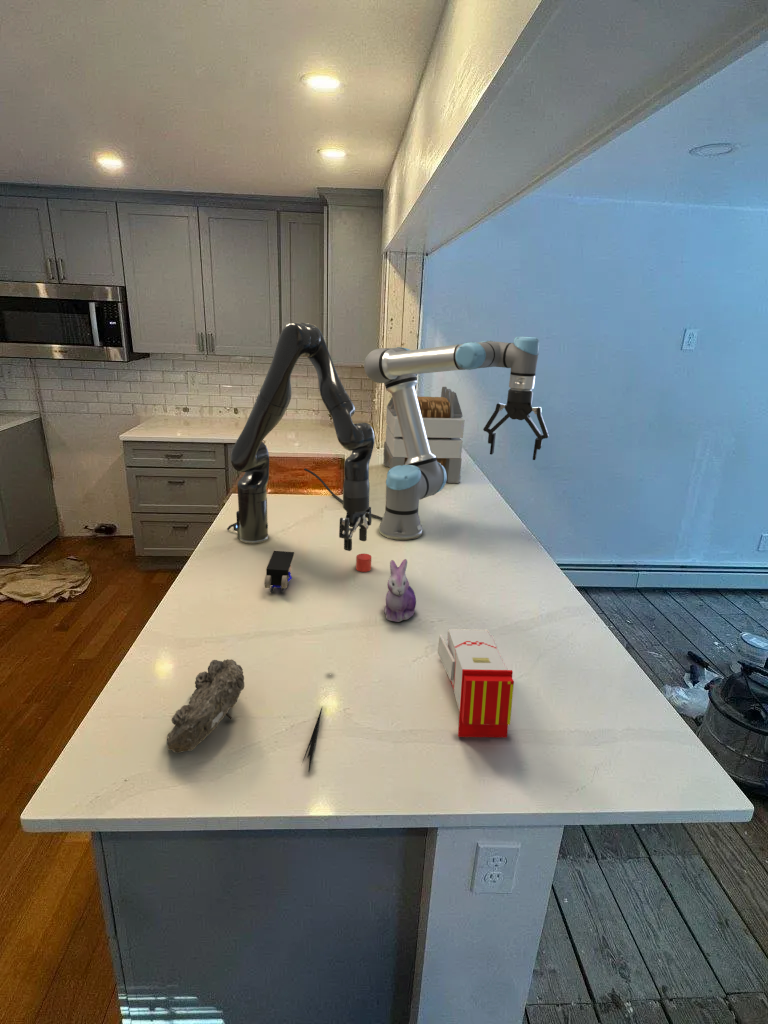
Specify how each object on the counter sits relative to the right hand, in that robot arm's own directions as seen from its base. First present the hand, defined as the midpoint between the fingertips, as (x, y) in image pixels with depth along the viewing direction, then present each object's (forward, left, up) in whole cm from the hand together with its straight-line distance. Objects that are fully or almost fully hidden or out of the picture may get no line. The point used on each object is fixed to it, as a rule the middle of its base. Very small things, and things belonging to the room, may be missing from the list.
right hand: (512, 456), depth 182 cm
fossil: (+20, -113, -32) cm, 119 cm away
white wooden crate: (-82, +40, -32) cm, 96 cm away
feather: (+33, -97, -32) cm, 108 cm away
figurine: (+13, -58, -32) cm, 67 cm away
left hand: (-15, -52, -23) cm, 59 cm away
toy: (+45, -68, -32) cm, 87 cm away
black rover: (-20, -74, -32) cm, 83 cm away
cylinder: (-14, -49, -32) cm, 60 cm away
